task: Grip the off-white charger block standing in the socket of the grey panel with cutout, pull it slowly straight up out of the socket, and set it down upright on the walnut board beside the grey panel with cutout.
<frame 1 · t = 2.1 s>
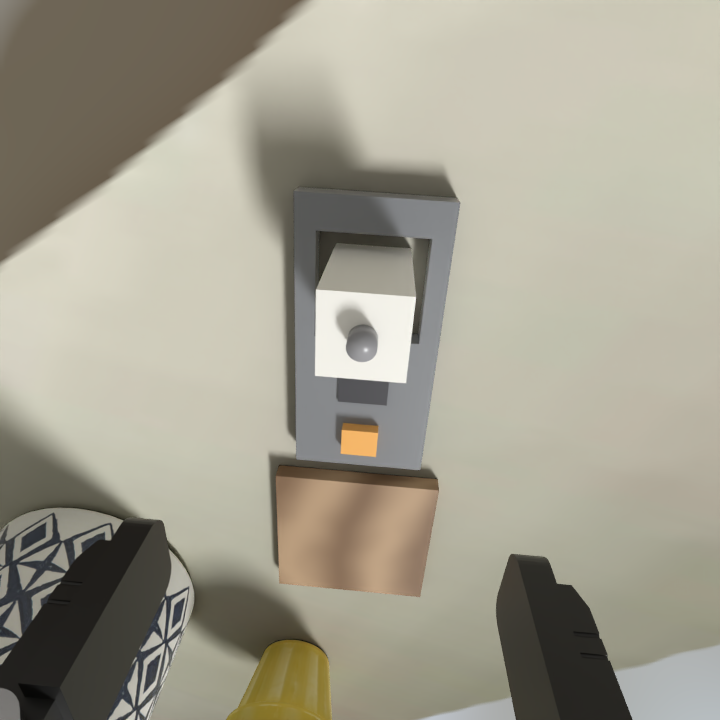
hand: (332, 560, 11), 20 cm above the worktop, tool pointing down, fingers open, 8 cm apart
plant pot: (295, 656, 48), on the worktop
charger block: (371, 281, 29), resting in grey panel with cutout
grey panel with cutout: (371, 281, 29), on the worktop
planter: (101, 573, 44), on the worktop
walnut board: (353, 528, 39), on the worktop
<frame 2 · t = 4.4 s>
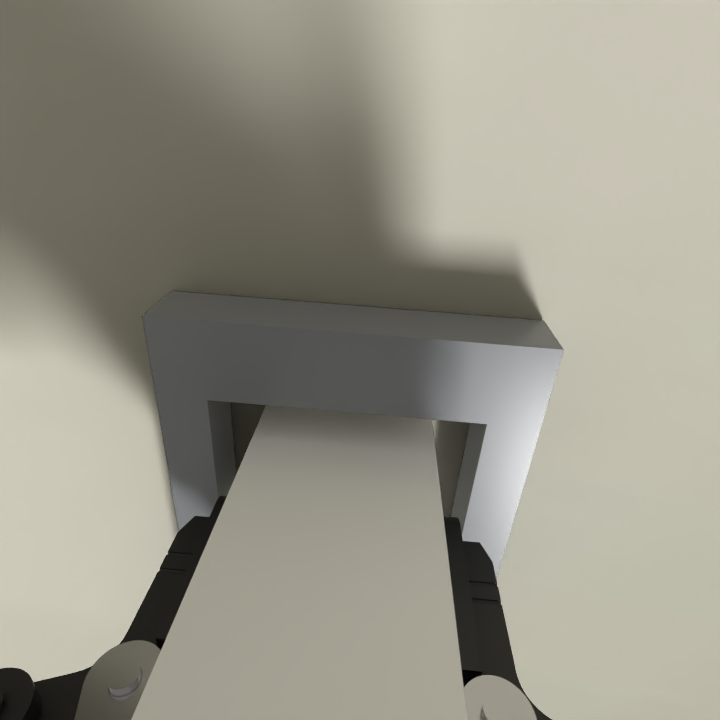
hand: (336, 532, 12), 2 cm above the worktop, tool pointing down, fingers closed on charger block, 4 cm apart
charger block: (345, 473, 14), resting in grey panel with cutout, touching gripper
grey panel with cutout: (345, 474, 14), on the worktop
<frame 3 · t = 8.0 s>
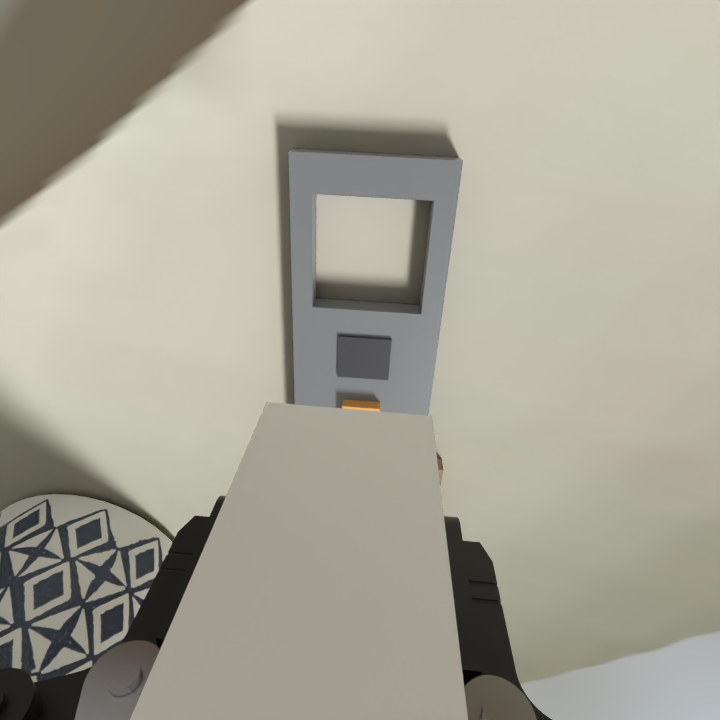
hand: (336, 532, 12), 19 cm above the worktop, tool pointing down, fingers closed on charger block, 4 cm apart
charger block: (345, 472, 14), point 17 cm above the worktop, touching gripper
grey panel with cutout: (370, 250, 28), on the worktop
planter: (97, 562, 43), on the worktop
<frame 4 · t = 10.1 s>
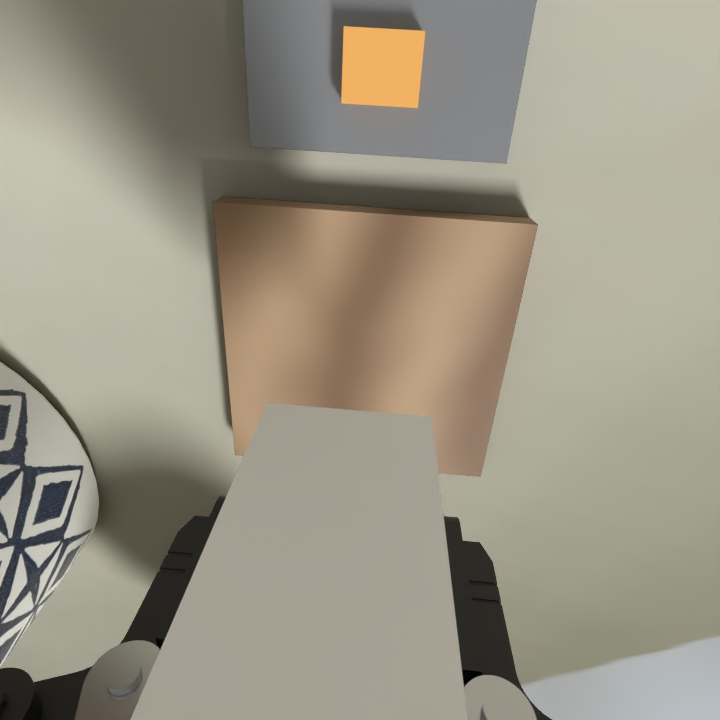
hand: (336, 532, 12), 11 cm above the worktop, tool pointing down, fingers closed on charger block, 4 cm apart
charger block: (345, 473, 14), point 9 cm above the worktop, touching gripper
walnut board: (365, 344, 21), on the worktop
when the fingers open (5 cm above the worktop, at t = 11.9 s): charger block drops 1 cm, resting on walnut board.
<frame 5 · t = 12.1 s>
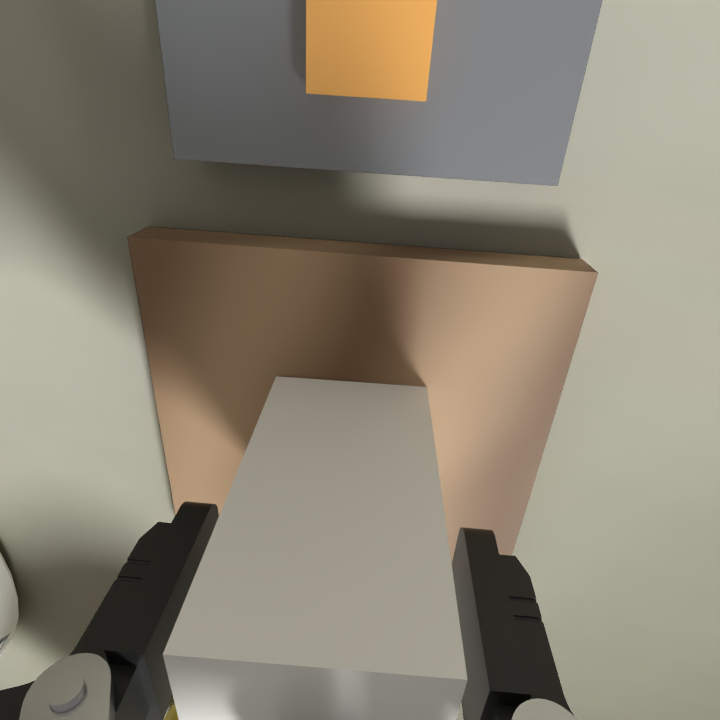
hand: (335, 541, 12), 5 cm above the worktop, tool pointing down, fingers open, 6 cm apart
charger block: (348, 441, 15), point 1 cm above the worktop, touching walnut board
walnut board: (351, 420, 16), on the worktop
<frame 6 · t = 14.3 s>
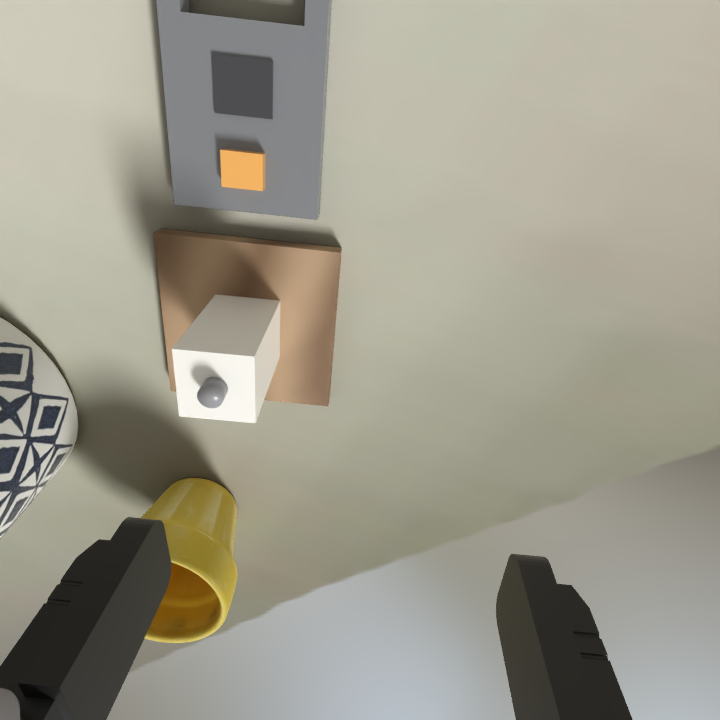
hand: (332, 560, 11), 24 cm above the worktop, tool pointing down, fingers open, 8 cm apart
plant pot: (200, 502, 44), on the worktop
charger block: (248, 326, 34), point 1 cm above the worktop, touching walnut board
walnut board: (252, 320, 35), on the worktop
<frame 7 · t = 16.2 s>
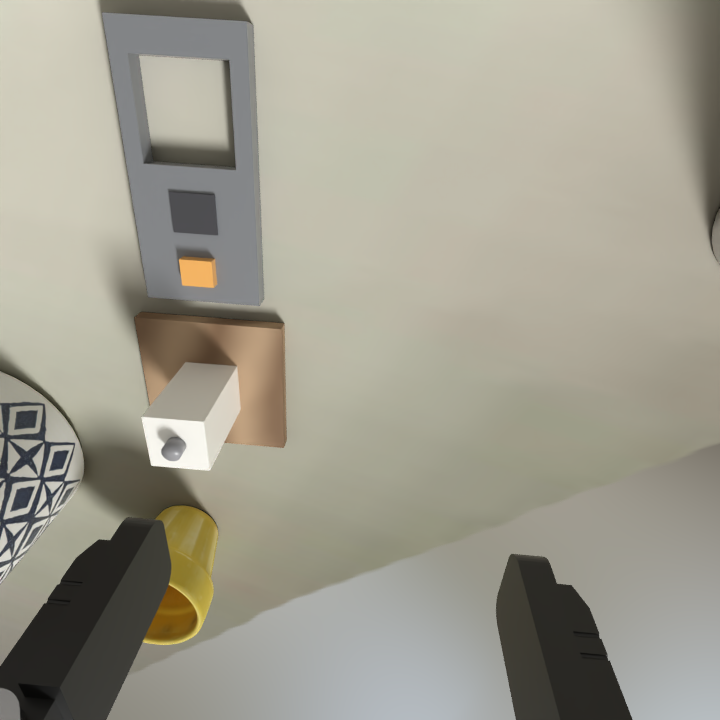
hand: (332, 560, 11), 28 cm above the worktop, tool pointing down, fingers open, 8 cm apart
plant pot: (187, 525, 52), on the worktop
charger block: (213, 386, 41), point 1 cm above the worktop, touching walnut board
grey panel with cutout: (192, 113, 32), on the worktop
walnut board: (218, 379, 42), on the worktop
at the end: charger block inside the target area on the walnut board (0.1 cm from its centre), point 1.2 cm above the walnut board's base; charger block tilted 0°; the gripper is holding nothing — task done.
